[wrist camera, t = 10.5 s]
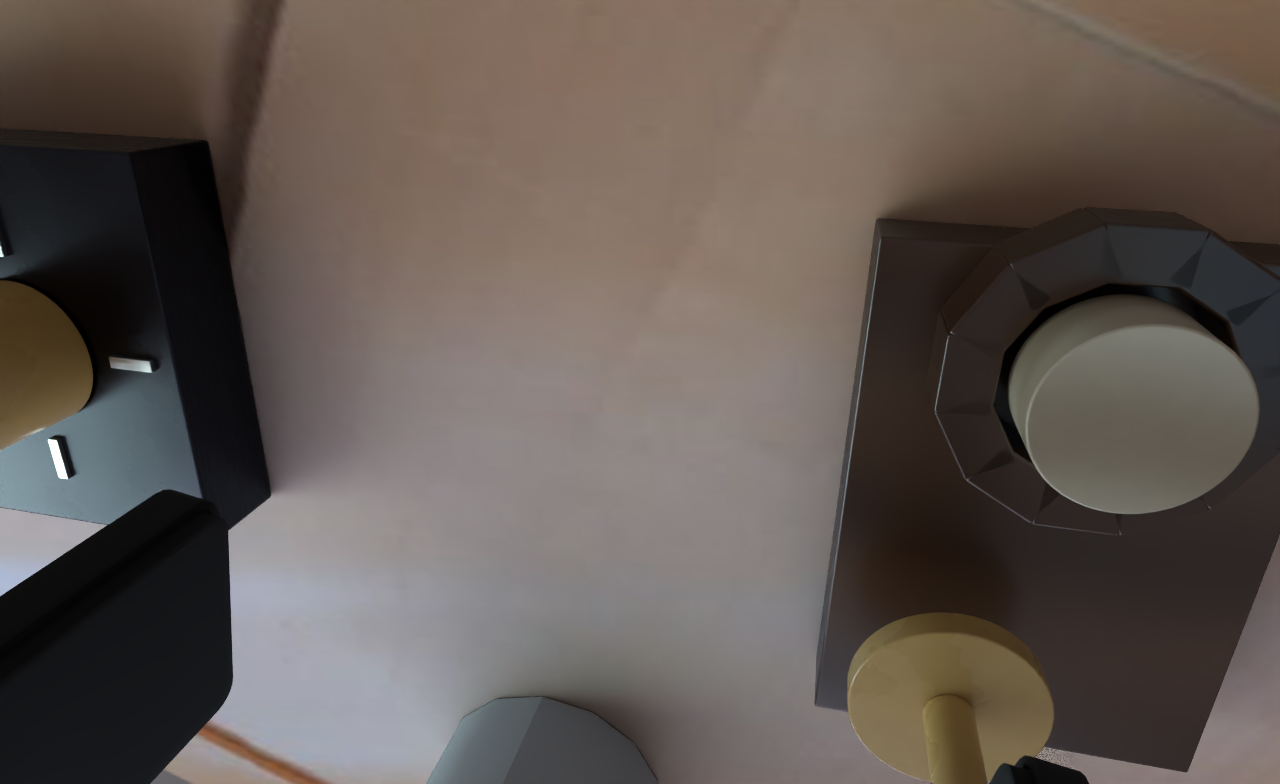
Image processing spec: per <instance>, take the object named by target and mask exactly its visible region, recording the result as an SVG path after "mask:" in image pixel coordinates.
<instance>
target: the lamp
mask: <svg viewBox="0 0 1280 784" xmlns="http://www.w3.org/2000/svg"><path fill="white" fill-rule="evenodd" d="M847 706H848V714H849V717H850V721H851V724H852V726H853V728H854V731H855V732H856V734H857V736H858V737H859V739H860V740H861V742H862V743H863V744H864V745H865V747H866V748H867V749H868V750H869V751H870V752H871V753H872V754H873V755H874V756H875V757H877V758H878V759H879V760H881V761H882V762H883V763H885V764H886V765H888V766H890V767H891V768H893V769H895V770H896V771H899V772H901V773H903V774H905V775H907V776H910V777H913V778H916V779H919V780H923V781H927V782H931V784H988V782H989V781H991V780H992V778H993V776H994V774H995V772H996V770H997V769H998V768H999V766H1000V765H1001V764H1003V763H1007V764H1010V765H1014V766H1015V764H1016V763H1017V761H1018V760H1019V759H1020V758H1021V757H1023V756H1025V755H1026V756H1031V757H1036V756H1037V755H1038V754H1039V752H1040V751H1041V750H1042V749H1043V747H1044V746H1045V744H1046V742H1047V741H1048V739H1049V736H1050V734H1051V731H1052V728H1053V723H1054V704H1053V698H1052V695H1051V692H1050V689H1049V686H1048V682H1047V679H1046V676H1045V674H1044V671H1043V668H1042V666H1041V664H1040V663H1039V661H1038V659H1037V657H1036V656H1035V655H1034V654H1033V652H1032V651H1031V650H1030V649H1029V648H1028V647H1027V646H1026V645H1025V644H1024V643H1023V642H1022V641H1021V640H1020V639H1019V638H1017V637H1016V636H1015V635H1013V634H1012V633H1011V632H1009V631H1007V630H1006V629H1004V628H1002V627H1000V626H998V625H996V624H994V623H992V622H989V621H987V620H984V619H981V618H978V617H974V616H969V615H965V614H958V613H948V612H934V613H924V614H918V615H913V616H908V617H905V618H902V619H899V620H896V621H894V622H892V623H890V624H888V625H886V626H884V627H882V628H881V629H879V630H878V631H876V632H875V633H874V634H872V635H871V636H870V637H869V638H868V639H867V640H866V641H865V642H864V643H863V644H862V645H861V646H860V648H859V649H858V651H857V652H856V654H855V655H854V657H853V660H852V662H851V664H850V668H849V672H848V679H847Z"/></svg>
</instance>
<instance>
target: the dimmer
mask: <svg viewBox="0 0 1280 784" xmlns="http://www.w3.org/2000/svg"><path fill="white" fill-rule="evenodd" d="M0 280H6V281H13V282H18V283H21V284H24V285H27V286H29V287H31V288H34V289H35V290H37V291H39V292H41V293H42V294H44V295H45V296H47V297H48V298H49V299H51V300H52V301H53V302H54V303H55V304H57V305H58V306H59V307H60V308H61V309H62V310H63V311H64V312H65V313H66V315H67V316H68V317H69V318H70V319H71V321H72V322H73V323H74V325H75V326H76V328H77V329H78V331H79V332H80V334H81V336H82V338H83V340H84V342H85V344H86V346H87V349H88V352H89V355H90V358H91V363H92V368H93V386H92V391H91V394H90V397H89V399H88V400H87V402H86V404H85V405H84V406H83V407H82V409H81V410H80V411H78V412H77V413H76V414H74V415H72V416H70V417H68V418H66V419H64V420H62V421H60V422H58V423H55V424H53V425H51V426H49V427H47V428H45V429H43V430H41V431H39V432H37V433H35V434H33V435H31V436H29V437H27V438H25V439H23V440H21V441H19V442H17V443H15V444H13V445H10V446H8V447H6V448H4V449H2V450H0V507H1V508H7V509H13V510H19V511H25V512H31V513H37V514H44V515H50V516H56V517H62V518H68V519H74V520H80V521H86V522H92V523H99V524H105V525H109V524H110V523H112V522H113V521H115V520H116V519H118V518H119V517H121V516H122V515H124V514H125V513H127V512H128V511H130V510H131V509H133V508H134V507H136V506H137V505H139V504H140V503H142V502H143V501H145V500H146V499H148V498H149V497H151V496H152V495H154V494H156V493H158V492H160V491H162V490H167V489H172V490H175V491H178V492H182V493H185V494H188V495H191V496H194V497H198V498H201V499H204V500H207V501H210V502H212V503H215V505H216V506H217V508H218V509H219V515H220V517H221V518H223V519H225V521H226V522H227V526H228V530H230V529H231V528H232V527H233V526H235V525H236V524H237V523H238V522H240V521H241V520H242V519H243V518H245V517H246V516H247V515H248V514H250V513H251V512H252V511H253V510H255V509H256V508H257V507H258V506H260V505H261V504H262V503H263V502H265V501H266V500H267V499H268V498H270V496H271V492H270V486H269V481H268V475H267V469H266V464H265V458H264V453H263V447H262V442H261V436H260V430H259V425H258V419H257V414H256V408H255V402H254V397H253V391H252V386H251V380H250V374H249V369H248V363H247V358H246V352H245V346H244V341H243V335H242V330H241V324H240V319H239V313H238V307H237V302H236V296H235V291H234V285H233V279H232V274H231V268H230V263H229V257H228V251H227V246H226V240H225V235H224V229H223V223H222V218H221V212H220V207H219V201H218V196H217V190H216V184H215V179H214V173H213V168H212V162H211V156H210V151H209V145H208V142H207V141H205V140H196V139H178V138H160V137H142V136H124V135H106V134H88V133H70V132H53V131H35V130H17V129H0Z"/></svg>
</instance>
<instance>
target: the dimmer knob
mask: <svg viewBox="0 0 1280 784" xmlns="http://www.w3.org/2000/svg"><path fill="white" fill-rule="evenodd" d="M92 386H93V368H92V363H91V358H90V355H89V352H88V349H87V346H86V344H85V342H84V340H83V338H82V336H81V334H80V332H79V331H78V329H77V328H76V326H75V325H74V323H73V322H72V321H71V319H70V318H69V317H68V316H67V315H66V313H65V312H64V311H63V310H62V309H61V308H60V307H59V306H58V305H57V304H55V303H54V302H53V301H52V300H51V299H49V298H48V297H47V296H45V295H44V294H42V293H41V292H39V291H37V290H35V289H34V288H31V287H29V286H27V285H24V284H21V283H18V282H13V281H6V280H0V450H2V449H4V448H6V447H8V446H10V445H13V444H15V443H17V442H19V441H21V440H23V439H25V438H27V437H29V436H31V435H33V434H35V433H37V432H39V431H41V430H43V429H45V428H47V427H49V426H51V425H53V424H55V423H58V422H60V421H62V420H64V419H66V418H68V417H70V416H72V415H74V414H76V413H77V412H78V411H80V410H81V409H82V407H83V406H84V405H85V404H86V402H87V400H88V399H89V397H90V394H91V391H92Z"/></svg>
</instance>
